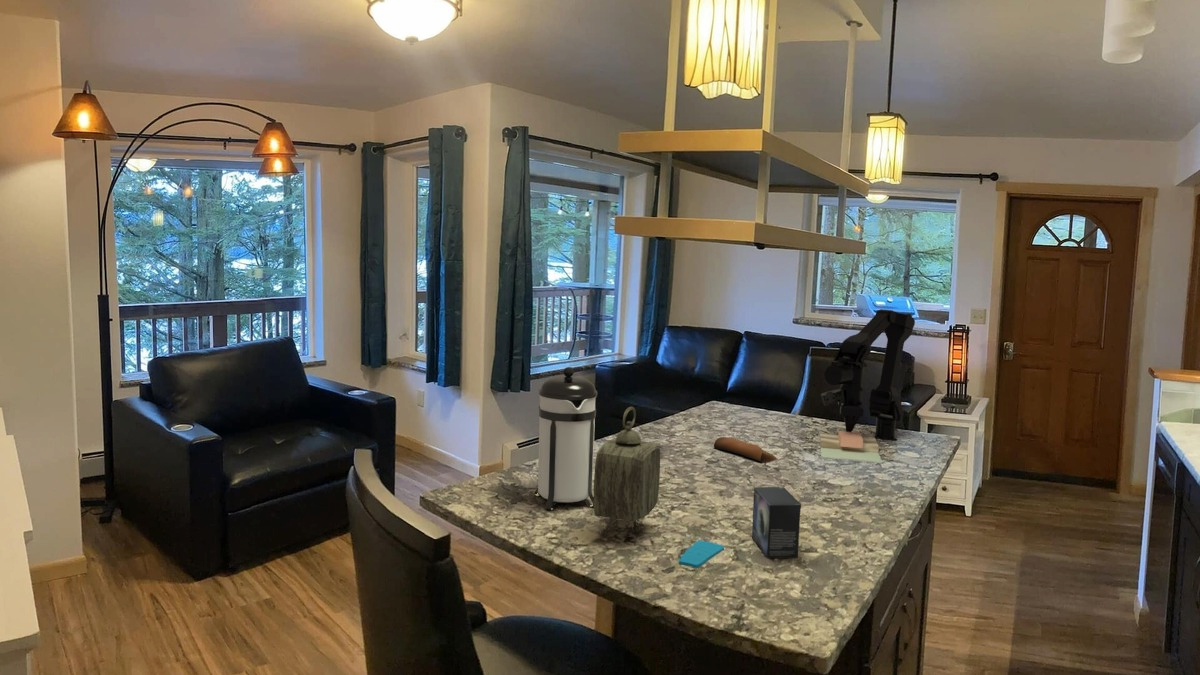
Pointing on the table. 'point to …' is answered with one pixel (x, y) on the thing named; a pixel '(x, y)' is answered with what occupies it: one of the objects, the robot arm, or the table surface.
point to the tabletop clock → (626, 477)
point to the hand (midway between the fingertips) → (848, 434)
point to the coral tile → (850, 439)
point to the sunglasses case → (744, 449)
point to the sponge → (700, 553)
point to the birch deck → (833, 443)
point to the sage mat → (850, 455)
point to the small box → (776, 522)
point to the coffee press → (566, 439)
